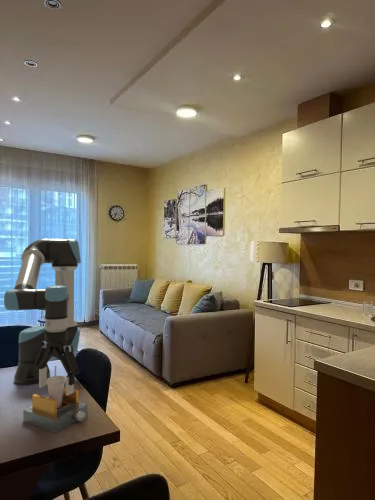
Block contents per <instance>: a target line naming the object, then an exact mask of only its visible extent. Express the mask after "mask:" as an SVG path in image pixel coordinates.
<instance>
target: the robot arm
mask: <svg viewBox="0 0 375 500" xmlns="http://www.w3.org/2000/svg"><path fill="white" fill-rule="evenodd" d="M80 252H81V251H80V245H79V241H78V239H75V238H41V239H38V240H37V239H36V240H35V241H33V242H31V243H30V244H29V245H28V246H27V247H25V249H24V250H23V252H22V254H21V266H20V267H19V272H18V275H17V279H16V281H15V284H14V288H12V289H8V290H5V292H4V298H3V305H4V308H5V310H7V311H16V312H17V311H30V310H44V322H45V323H44V325H38V326H32V327H28V328H24V329H23V330H21V331H20V332H19V335H18V342H17V343H18V363H17V367H16V371H15V374H14V378H13V382H14V383H15V384H17V385H25V386H26V385H34V384H35V385H36V384H38V388H40V389H41V388H43V387H46V386H48V384H47V383H46V382H47V379H48V378H50V377H51V370H50V367H49V365H48V363H49V361H50V359H52V358H53V357H54V358H57V359H58V360H59V361H60V363H61V365H62V367H63V368H64V370H65V372H66V374H67V375H66V376H65V378H66V379H65V380H66V381H65V387H66V395H67V396H68V395H70V394H72V393H74V389H75V388H74V386H75V383H76V382H75V381H76V380H75V379H76V378H75V377H76V376H75V375H78V374H80V368H79V366H78V362H77V360H76V355H75V353H76V352H78V348H79V343H80V335H81V327H78V323H77V322H76V321H75V271H76V269H78V266H79V264H81V263H82V261H81V260H82V259H81V253H80ZM43 264H51V268H52V269H53V270H54V279H55V281H54V283H55V284H54V285H48V286H46V287H45V288H41V289H40V288H39V289H38V288H37V285H38V281H39V276H40V273H41V266H43Z"/></svg>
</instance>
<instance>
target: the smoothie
mask: <svg viewBox="0 0 375 500" xmlns="http://www.w3.org/2000/svg"><path fill="white" fill-rule="evenodd" d="M46 383H47V390H48V391H47V392H48V398H50V399H54V400H57V408H59V407H61V404H62V397H63V390H64V387H65V383H66V376H63V375H57V365H54V376H50V378H48V379H47V382H46Z"/></svg>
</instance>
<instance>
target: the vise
mask: <svg viewBox="0 0 375 500" xmlns="http://www.w3.org/2000/svg"><path fill="white" fill-rule="evenodd" d="M79 395H80V391H79V390H78V389H75V388H74V393H72V394H70V395H68V396H67V395H66V386H64V390H63V397H62V404H61V407H59V408H57V400H54V399H50V398H49V397H48V396H43V395H39V394H37V393H34V394H32V395H31V396H32V397H31V398H32V399H31V401H32V402H31V406H29V407H26V408H25V409H24V408H23V415H22V416H23V422H24V423H27V424H30V425H32V426H35V427H38V428H41V429H42V430H47V431H48V432H51V433H55V434H56V433H58V432H60V431H61V430H64V429H65V428H67V427H70V426H71V425H73V424H74V423H76V422H80V423H82V422H84V421H85V420H86V418H87V416H88V404H87V403H84V402H80V400H79V399H80V396H79Z"/></svg>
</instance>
